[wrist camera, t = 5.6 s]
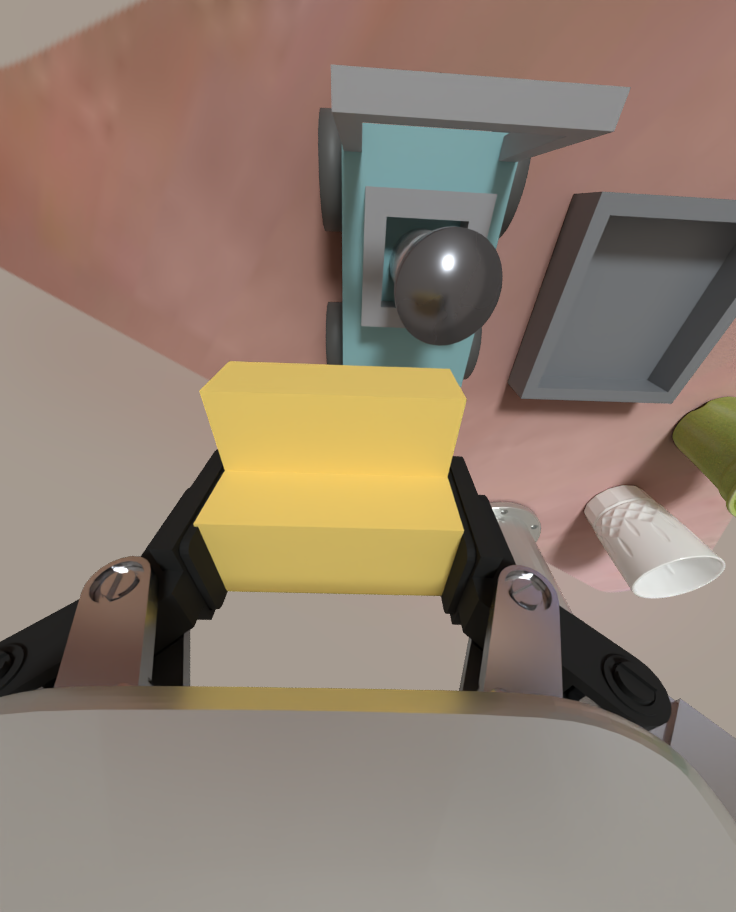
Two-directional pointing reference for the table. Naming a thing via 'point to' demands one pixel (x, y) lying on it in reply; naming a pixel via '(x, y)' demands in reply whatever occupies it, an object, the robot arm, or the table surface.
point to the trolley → (431, 183)
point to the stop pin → (445, 283)
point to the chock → (333, 478)
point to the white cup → (650, 544)
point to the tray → (630, 299)
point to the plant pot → (712, 444)
